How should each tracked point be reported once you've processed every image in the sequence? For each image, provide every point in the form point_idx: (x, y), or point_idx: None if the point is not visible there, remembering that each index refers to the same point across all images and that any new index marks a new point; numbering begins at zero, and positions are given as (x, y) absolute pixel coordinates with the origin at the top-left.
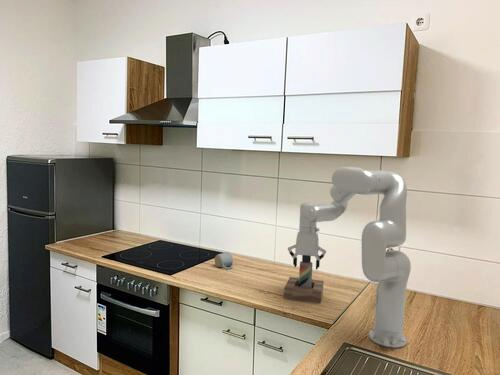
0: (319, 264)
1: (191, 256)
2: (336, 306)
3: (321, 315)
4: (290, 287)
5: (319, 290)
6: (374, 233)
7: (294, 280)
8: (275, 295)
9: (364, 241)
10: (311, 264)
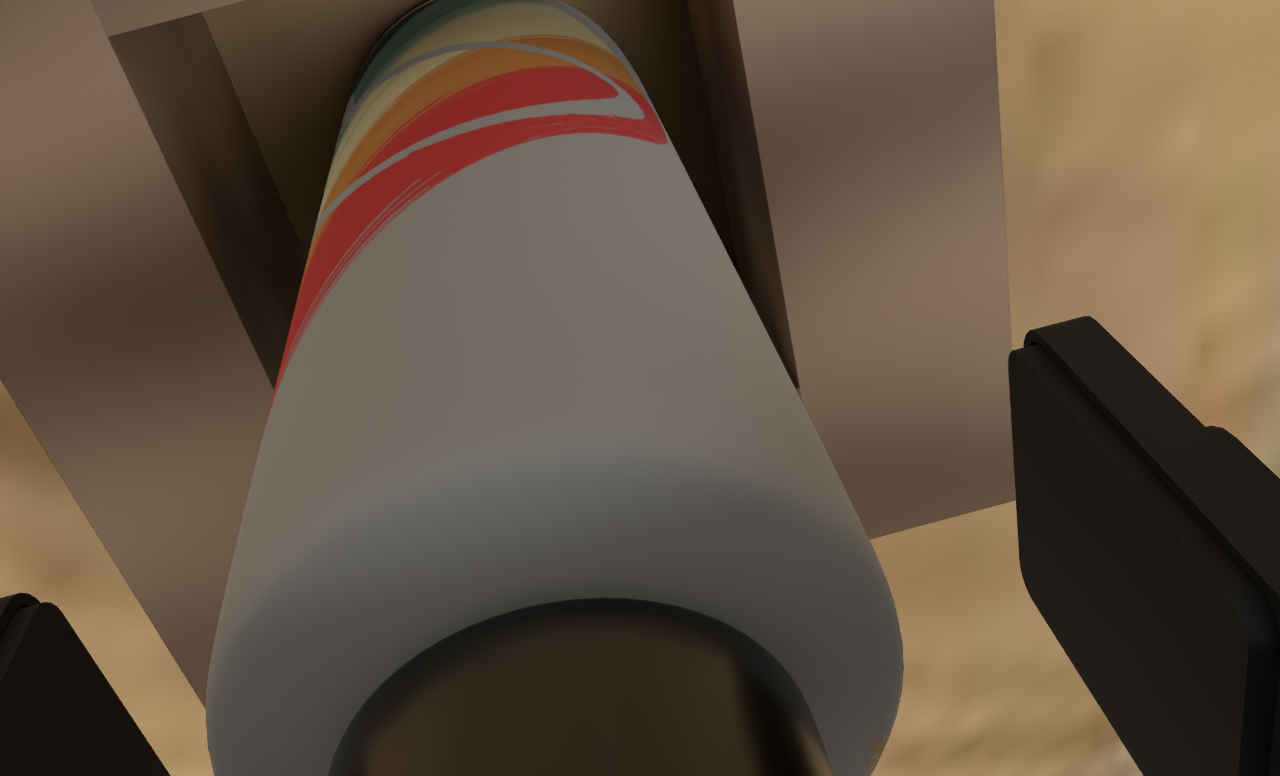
0: (1264, 473)
1: None
2: (1207, 319)
3: (1002, 712)
4: None
5: (966, 421)
6: None
7: (67, 109)
8: (5, 507)
9: None
10: (881, 741)
